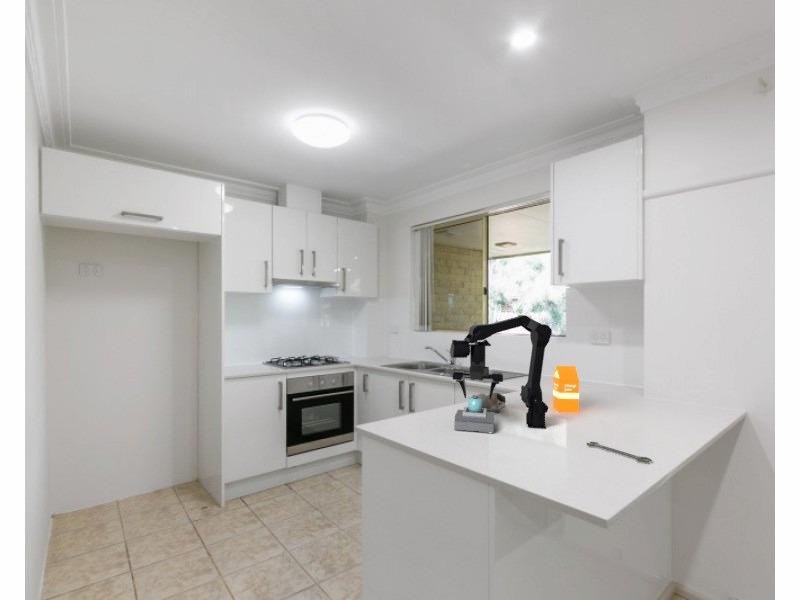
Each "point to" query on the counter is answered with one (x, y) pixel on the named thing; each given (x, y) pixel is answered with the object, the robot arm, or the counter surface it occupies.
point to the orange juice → (566, 389)
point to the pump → (475, 404)
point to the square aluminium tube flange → (474, 420)
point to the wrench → (620, 453)
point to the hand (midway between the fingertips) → (477, 398)
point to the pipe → (493, 402)
